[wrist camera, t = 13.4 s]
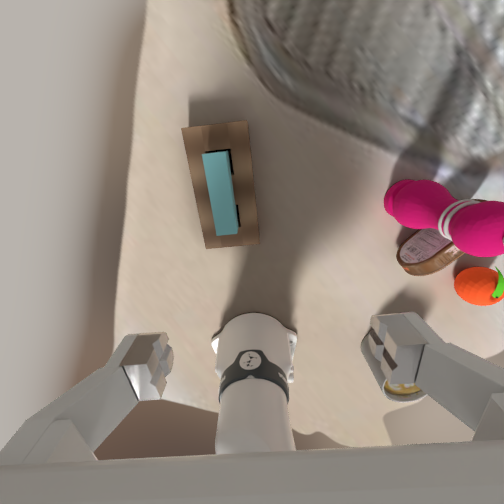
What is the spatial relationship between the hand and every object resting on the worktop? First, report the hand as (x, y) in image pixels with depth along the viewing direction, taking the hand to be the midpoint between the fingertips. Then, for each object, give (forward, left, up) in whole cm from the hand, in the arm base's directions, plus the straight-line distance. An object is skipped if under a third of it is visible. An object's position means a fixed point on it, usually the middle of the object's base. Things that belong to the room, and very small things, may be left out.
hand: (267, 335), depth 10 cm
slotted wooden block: (+1, +5, -33) cm, 33 cm away
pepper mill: (-4, -24, -33) cm, 41 cm away
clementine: (-20, -38, -33) cm, 54 cm away
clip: (+1, +5, -33) cm, 33 cm away
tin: (-10, -29, -33) cm, 45 cm away
